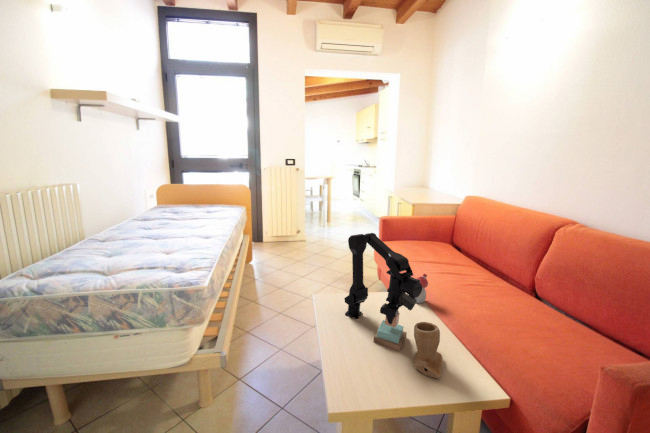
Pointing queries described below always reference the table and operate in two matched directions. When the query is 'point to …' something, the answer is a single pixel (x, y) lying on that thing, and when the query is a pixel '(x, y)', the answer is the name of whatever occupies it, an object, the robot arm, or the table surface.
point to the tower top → (390, 332)
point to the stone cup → (427, 349)
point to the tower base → (391, 344)
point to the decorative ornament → (424, 284)
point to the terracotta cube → (394, 322)
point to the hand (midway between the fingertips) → (391, 321)
